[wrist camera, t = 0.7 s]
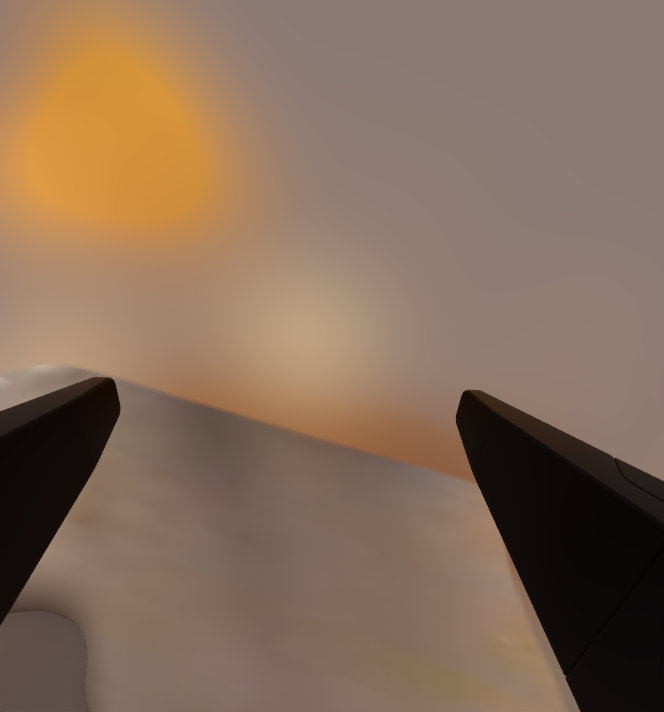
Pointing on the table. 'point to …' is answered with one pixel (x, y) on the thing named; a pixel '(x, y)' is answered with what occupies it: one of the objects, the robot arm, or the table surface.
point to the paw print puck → (41, 663)
